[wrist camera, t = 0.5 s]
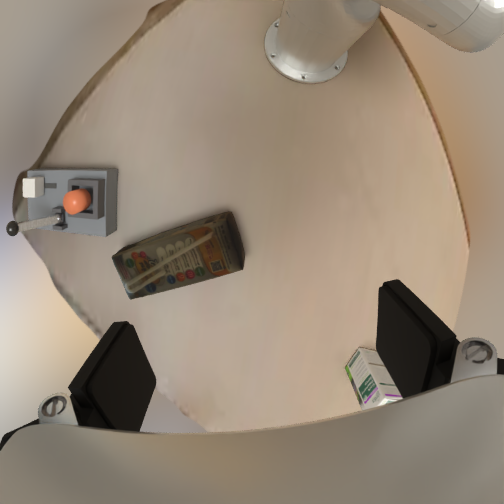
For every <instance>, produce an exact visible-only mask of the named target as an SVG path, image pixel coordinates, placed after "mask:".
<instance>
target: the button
mask: <svg viewBox="0 0 504 504" xmlns="http://www.w3.org/2000/svg"><path fill="white" fill-rule="evenodd" d="M90 204H91V195H90V193H89V192H88V191H87V190H86V189H84V188H81V189H77V190H74V191H70V192H68V193H66V194H65V196H64V198H63V206H64V209H65V211H66V212H67V213H69V214H76V213H79V212H81V211H83V210H86V209H87V208H88V207H89V206H90Z"/></svg>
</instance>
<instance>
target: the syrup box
mask: <svg viewBox="0 0 504 504" xmlns="http://www.w3.org/2000/svg"><path fill="white" fill-rule="evenodd" d="M345 369H346V371H347V374H348V376H349V379H350V381H351V384H352V386H353V389H354V391H355V394H356V396H357V399H358V401H359V404H360V406H361V409H362V410H366V409H369V408H373V407H377V406H380V405H384V404H387V403H391V402H394V401H397V400H400V399H403V398H402V396H401V394H400V392H399V391H398V389H397V387H396V385H395V383H394V381H393V380H392V378H391V376H390V374H389V373H388V371H387V369H386V367H385V366H384V364H383V362H382V360H381V359H380V357H379V355H378V353H377V351H373V350H369V349H365V348H360V347H359V348H358V350H357V351H356V353H355V354H354V356H353V357H352V359H351V360H350V362H349V363H348V365H347V366H346V367H345Z"/></svg>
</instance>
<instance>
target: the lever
mask: <svg viewBox="0 0 504 504" xmlns="http://www.w3.org/2000/svg"><path fill="white" fill-rule="evenodd" d="M51 224H56V225H62V224H64V221H63V212H62V213H55V215H51V216H46V217H41V218H37V219H32V220H27V221H23V222H18V223H17V222H15V221H11V222H9V223H8V225H7V227H6V230H7V233H8V234H9V235H10V236H15V235H16V234H17V233H18V232H20V231H25V230H29V229H33V228H38V227H42V226H47V225H51Z"/></svg>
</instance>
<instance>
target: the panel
mask: <svg viewBox="0 0 504 504" xmlns="http://www.w3.org/2000/svg"><path fill="white" fill-rule="evenodd" d="M29 177H44V195H42V196H39V197H35V198H32V197H28V216H29V220H32V219H37V218H41V217H46V216H51V215H55V213H62V212H63V221H64V224H62V225H56V224H51V225H47V226H42V227H38V228H36V229H44V230H53V231H61V232H69V233H77V234H86V235H94V236H102V237H107V236H108V235H110V234H111V233H113V232H114V231H116V215H117V181H118V169H96V168H46V169H36V170H30V171H28V178H29ZM81 188H84V189H86V190H87V191H88V192H89V193H90V195H91V204H90V206H89V207H88V208H87V209H86V210H83V211H81V212H79V213H76V214H69V213H67V212H66V211H65V209H64V206H63V198H64V196H65V194H66V193H68V192H70V191H74V190H77V189H81Z"/></svg>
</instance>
